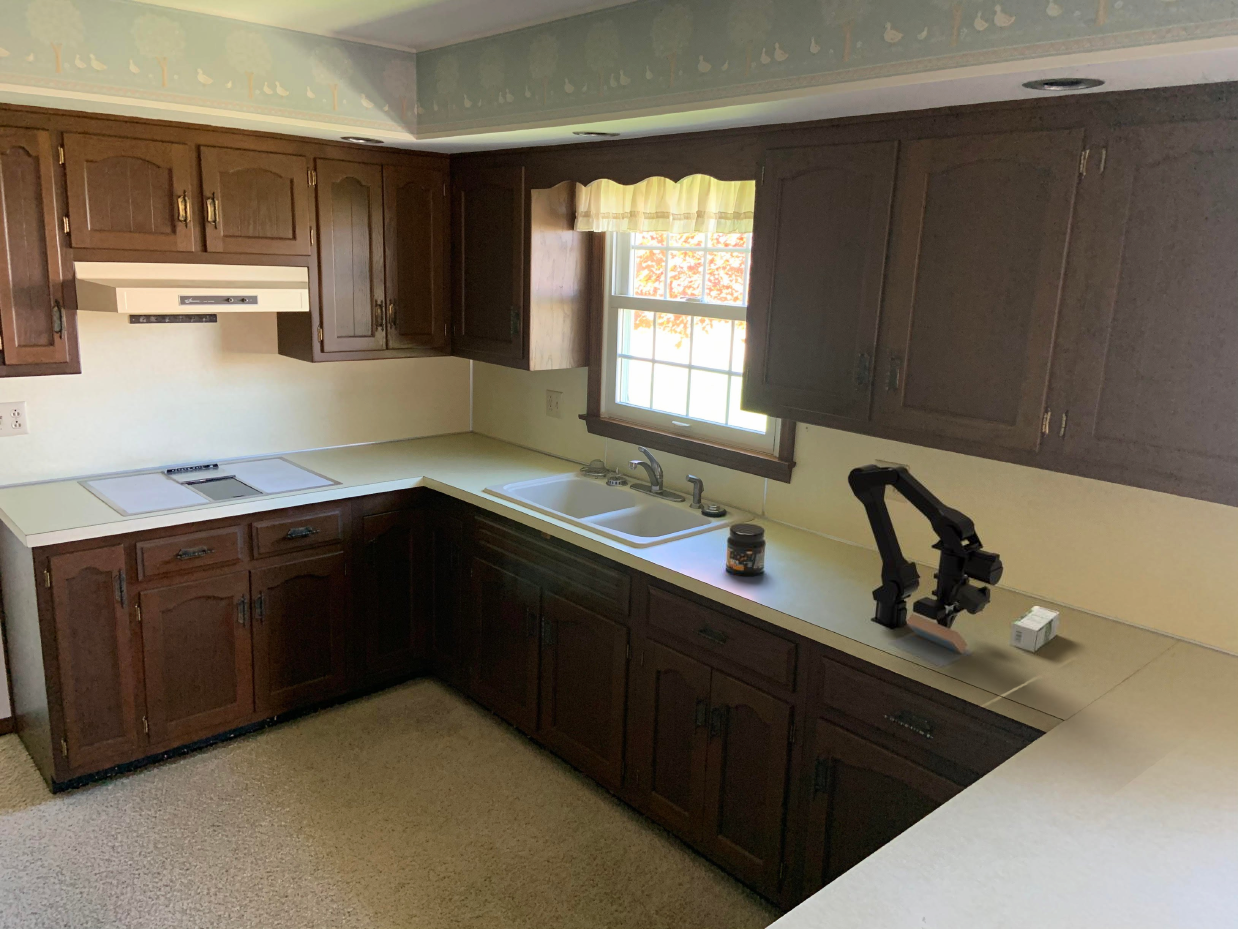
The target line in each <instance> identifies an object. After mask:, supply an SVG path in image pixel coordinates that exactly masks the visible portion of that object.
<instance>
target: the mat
mask: <svg viewBox="0 0 1238 929" xmlns="http://www.w3.org/2000/svg"><path fill="white" fill-rule="evenodd" d="M887 643H888V644H889V645H891V646H893V647H896V648H897V649H899V650H900V649H901V650H902V651H905V652H907V653H909V654H911V655H913V656H916V657H918V658H920V659H922V660H924V661H927V662H928V663H931V664H933V665H936V666H937V667H940V668H942V667H945V666H947V665H949V664H952V663H954V662H956V661H958V660H960V659H963V658H964V657H968V656H969V655H971V654H973V652H972V651H970V650H968V649H966V648H965V650H964V651H963V653H962V654H961V653H958V652H956V651H954V650H951V649H949V648H947V647H944V646H942V645H940V644H937V643H935V642H933V641H930V640H928V639H926V638H923V637H921V636H919V635H916V634H915V632H914V631H913V632H911V633H908V634H906V635H903V636H901V637H898V638H896V639H893V640H890V641H888V642H887Z"/></svg>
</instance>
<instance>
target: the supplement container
mask: <svg viewBox="0 0 1238 929" xmlns="http://www.w3.org/2000/svg"><path fill="white" fill-rule="evenodd" d="M728 530H729V532H728V534H729V536H728V537H727V538H726V543H727V545H726V556H725V558H726V560H725V567H726V569H727V571H728V572H730V573H732V574H733V575H737V576H743V577H753V576H757V575H760V574H762V572H764V569H765V559H766V558H765V555H766V546H767V540H766V539H765V536H766V535H765V534H766V530H765V528H763V527H762V526H761V525H758V524H754V523H742V522H741V523H735V524H732V525H730V526H729V529H728Z"/></svg>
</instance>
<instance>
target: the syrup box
mask: <svg viewBox="0 0 1238 929" xmlns="http://www.w3.org/2000/svg"><path fill="white" fill-rule="evenodd" d="M1059 619H1060V612H1059V611H1057V610H1053V609H1050V608H1047V607H1042V606H1038V605H1035V606H1033V607H1032V608H1030V609H1029V610H1028V611H1026V612H1025V613H1024V614H1023V615H1021V616H1020V617H1019V618H1017V619H1016V620H1015V621H1012V622H1011V631H1010V638H1009V646H1014V647H1016V648H1020V649H1023V650H1025V651H1028V652H1032V653H1036V652H1037V651H1038V650H1039V649H1041V647H1043V646H1044V645H1045V644H1047V643H1048V642H1049V641H1051V640H1052V639H1053V638H1054V637H1055V636H1057V634H1058V628H1059Z"/></svg>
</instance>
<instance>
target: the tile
mask: <svg viewBox="0 0 1238 929" xmlns="http://www.w3.org/2000/svg"><path fill="white" fill-rule="evenodd" d="M906 621H907V624H906V625H908V626H909V628H910V629H911V630H912V631H913V632H915V634H916V635H919V636H921V637H923V638H926V639H928V640H930V641H933V642H935V643H937V644H940V645H942V646H944V647H947V648H949V649H951V650H954V651H956V652H958V653H961V654H962V653H963V651H964V650H965V649H966V648H967V646H968V643H967V642H966V640H965V639H964V638H963V637H962V636H961V634H960V633H959V632H958V631H956V630H953V629H951V628H950V629H949V628H946V627H944V626H941V625H939V624H938V623H937V622H934V621H932V620H929V619H928V618H924V617H922V616H921V615H918V614H914V613H911V614H910V616H909V617H908V619H907V620H906Z"/></svg>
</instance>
